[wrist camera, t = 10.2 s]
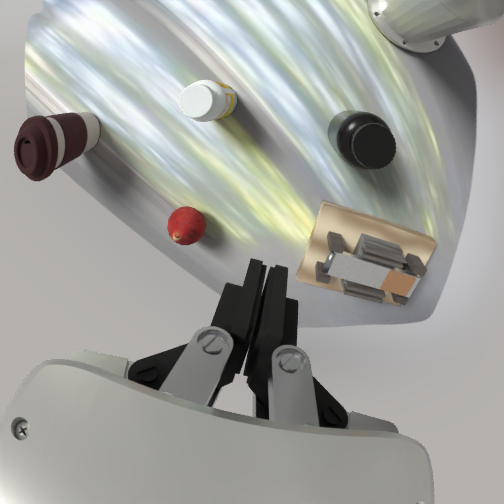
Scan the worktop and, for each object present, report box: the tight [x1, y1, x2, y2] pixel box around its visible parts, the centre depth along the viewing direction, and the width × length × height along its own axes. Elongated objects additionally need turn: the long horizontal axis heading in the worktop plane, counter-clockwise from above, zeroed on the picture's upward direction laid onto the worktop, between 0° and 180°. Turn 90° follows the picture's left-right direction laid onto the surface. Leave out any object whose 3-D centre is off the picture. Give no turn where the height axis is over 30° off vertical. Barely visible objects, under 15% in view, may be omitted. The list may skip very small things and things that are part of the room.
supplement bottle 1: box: [179, 80, 237, 122], centre depth 29 cm, size 5×5×10 cm
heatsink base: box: [297, 200, 437, 305], centre depth 40 cm, size 14×21×6 cm, turn 78°
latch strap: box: [322, 251, 421, 297], centre depth 38 cm, size 4×16×1 cm, turn 78°
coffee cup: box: [14, 112, 100, 181], centre depth 31 cm, size 10×10×15 cm
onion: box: [167, 206, 206, 245], centre depth 40 cm, size 6×6×8 cm
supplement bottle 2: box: [328, 111, 396, 170], centre depth 28 cm, size 7×7×12 cm
